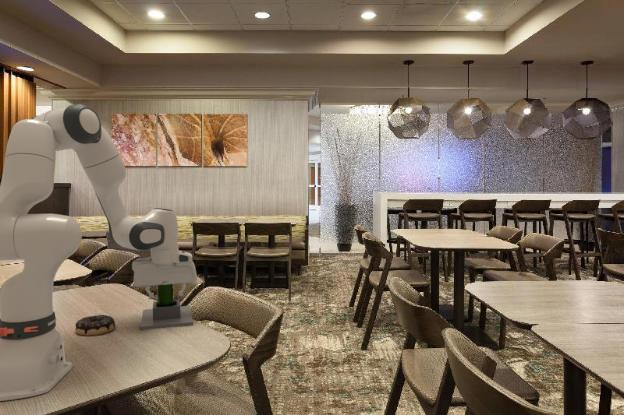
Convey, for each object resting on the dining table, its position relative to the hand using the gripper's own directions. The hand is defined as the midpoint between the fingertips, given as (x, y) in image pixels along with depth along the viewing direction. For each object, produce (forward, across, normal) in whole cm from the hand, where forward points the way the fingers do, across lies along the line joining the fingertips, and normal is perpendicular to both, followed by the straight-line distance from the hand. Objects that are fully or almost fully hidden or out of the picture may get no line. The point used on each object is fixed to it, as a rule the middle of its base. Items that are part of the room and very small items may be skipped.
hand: (166, 297), depth 162 cm
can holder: (+7, 0, 0) cm, 7 cm away
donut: (+8, -21, -6) cm, 23 cm away
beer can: (+6, 0, 0) cm, 6 cm away
